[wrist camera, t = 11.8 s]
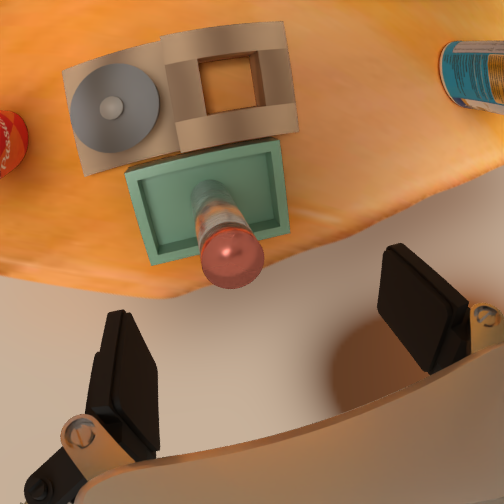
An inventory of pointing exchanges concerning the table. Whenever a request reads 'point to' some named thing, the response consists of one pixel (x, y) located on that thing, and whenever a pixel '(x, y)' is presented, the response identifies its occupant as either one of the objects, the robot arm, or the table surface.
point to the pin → (224, 237)
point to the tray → (200, 169)
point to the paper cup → (11, 141)
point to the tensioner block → (176, 95)
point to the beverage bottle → (474, 74)
